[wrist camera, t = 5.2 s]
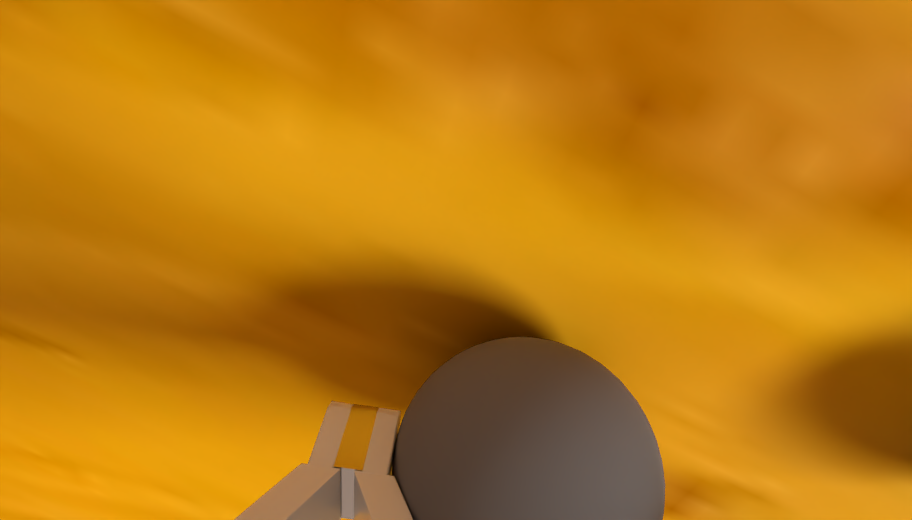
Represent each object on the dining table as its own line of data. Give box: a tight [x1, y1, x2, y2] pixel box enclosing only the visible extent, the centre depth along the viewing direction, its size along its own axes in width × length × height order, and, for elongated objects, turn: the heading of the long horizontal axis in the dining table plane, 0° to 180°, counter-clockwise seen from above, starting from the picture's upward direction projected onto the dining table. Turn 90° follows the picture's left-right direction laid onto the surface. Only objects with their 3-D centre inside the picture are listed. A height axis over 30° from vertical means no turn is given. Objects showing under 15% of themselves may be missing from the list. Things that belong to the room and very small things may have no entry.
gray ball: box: [392, 337, 665, 520], centre depth 11 cm, size 6×6×6 cm
